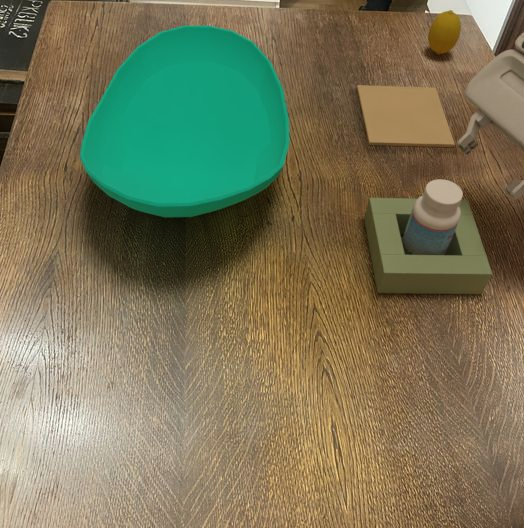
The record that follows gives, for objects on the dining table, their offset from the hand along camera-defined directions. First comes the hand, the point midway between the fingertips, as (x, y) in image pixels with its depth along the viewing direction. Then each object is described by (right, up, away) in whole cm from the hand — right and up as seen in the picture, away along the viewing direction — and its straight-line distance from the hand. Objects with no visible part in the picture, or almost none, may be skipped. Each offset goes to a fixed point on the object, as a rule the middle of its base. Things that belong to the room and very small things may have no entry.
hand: (484, 171), depth 76 cm
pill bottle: (-6, -9, +8) cm, 14 cm away
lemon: (+5, +33, +39) cm, 51 cm away
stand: (-6, -9, +8) cm, 14 cm away
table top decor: (-38, +2, +14) cm, 41 cm away
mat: (-4, +17, +26) cm, 32 cm away
